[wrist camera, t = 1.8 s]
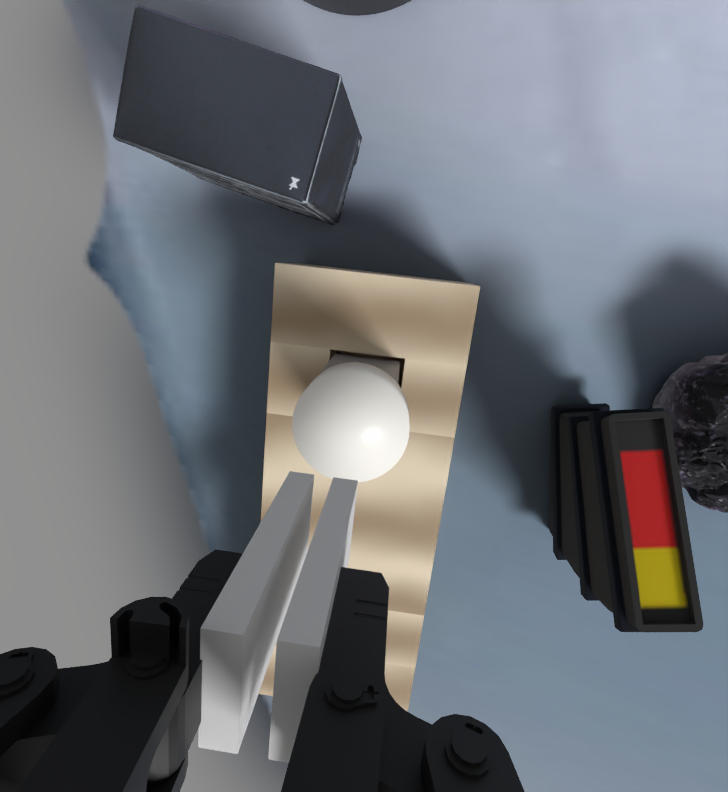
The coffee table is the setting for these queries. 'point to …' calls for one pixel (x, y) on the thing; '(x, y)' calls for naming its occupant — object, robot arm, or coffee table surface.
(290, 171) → the small box
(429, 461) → the block
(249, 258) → the coffee table surface
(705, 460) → the black rock
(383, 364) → the pale plunger
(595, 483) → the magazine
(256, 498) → the coffee table surface
